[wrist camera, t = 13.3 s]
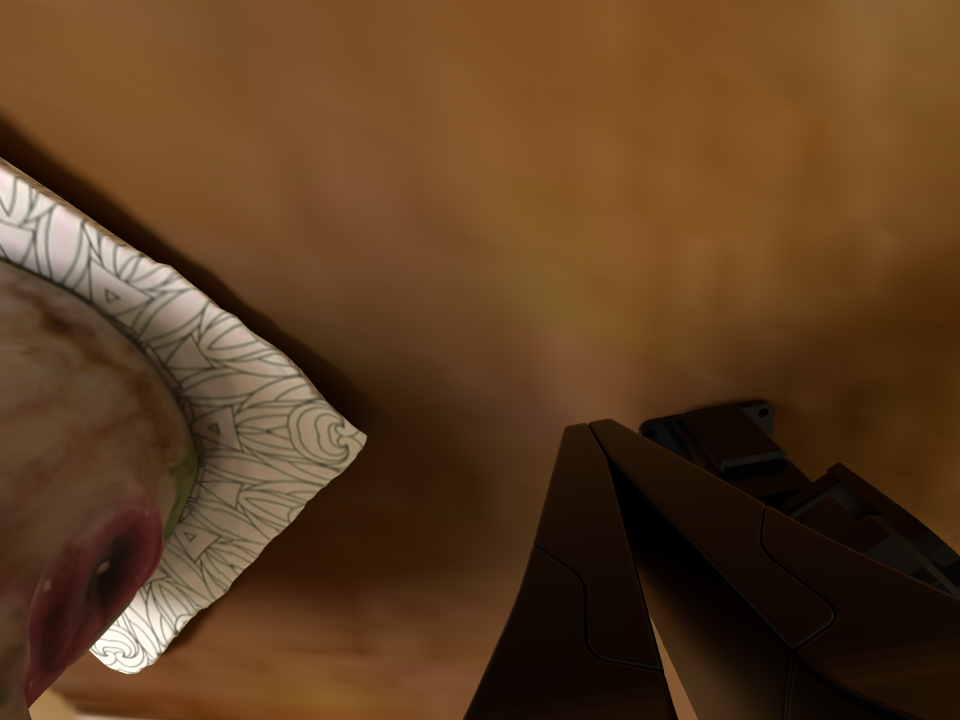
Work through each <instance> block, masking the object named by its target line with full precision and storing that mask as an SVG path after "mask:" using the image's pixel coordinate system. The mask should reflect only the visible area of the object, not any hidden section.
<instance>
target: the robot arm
mask: <svg viewBox="0 0 960 720" xmlns="http://www.w3.org/2000/svg"><path fill="white" fill-rule="evenodd" d="M763 408H764V409H763ZM761 409H763V411H762V412H760V413H758V412H759V411H760V410H761ZM773 413H774V410H773V407H772V406H771V405H770V404H769V403H768V402H767V401H764V400H757V401H752V402H746V403H741V404H736V405H735V404H731V405H725V406H720V407H715V408H709V409H704V410H699V411H693V412H688V413H685V414H682V415H677V416H671V417H666V418H661V419H655V420H650V421H646V422H644V423H643V424H641V426H640V427H639V434H638V433H636V432H634V431H632V430H630V429H629V428H627V427H625V426H623V425H621V424H620V423H618V422H616V421H614V420H612V419H602V420H597V421H592V422H590V423H589V425H587V424H586V423H581V424H576V425H571V426H567V427H565V429H564V433H563V436H562V440H561V444H560V447H559V451H558V455H557V458H556V462H555V466H554V469H553V473H552V477H551V480H550V484H549V488H548V492H547V495H546V499H545V503H544V506H543V510H542V514H541V517H540V521H539V525H538V528H537V532H536V536H535V540H534V543H533V548H532V550H531V553H530V557H529V561H528V564H527V568H526V571H525V574H524V577H523V580H522V583H521V587H520V590H519V593H518V595H517V598H516V600H515V603H514V605H513V608H512V610H511V613H510V615H509V618H508V620H507V623H506V625H505V627H504V629H503V632H502V634H501V636H500V638H499V640H498V643H497V645H496V647H495V649H494V652H493V654H492V656H491V658H490V661H489V663H488V665H487V667H486V670H485V672H484V674H483V676H482V679H481V681H480V683H479V685H478V688H477V690H476V692H475V694H474V697H473V699H472V701H471V703H470V705H469V707H468V709H467V712H466V714H465V716H464V718H463V720H678V717H677V714H676V711H675V708H674V705H673V702H672V698H671V695H670V691H669V688H668V684H667V680H666V678H665V676H664V669H663V665H662V661H661V658H660V654H659V650H658V646H657V643H656V639H655V635H654V631H653V628H652V624H651V620H650V616H651V618H652V620H653V622H654V624H655V627H656V629H657V631H658V633H659V635H660V637H661V640H662V642H663V644H664V646H665V648H666V651H667V653H668V655H669V657H670V659H671V661H672V664H673V666H674V668H675V670H676V672H677V674H678V677H679V679H680V681H681V683H682V685H683V687H684V690H685V692H686V694H687V696H688V698H689V701H690V703H691V705H692V707H693V709H694V711H695V714H696V716H697V718H698V720H960V556H959V555H958V554H957V553H956V552H955V551H954V550H953V549H952V548H950V547H949V546H948V545H947V544H946V543H945V542H944V541H943V540H941V539H940V538H939V537H938V536H937V535H936V534H935V533H933V532H932V531H931V530H930V529H929V528H927V527H926V526H925V525H924V524H923V523H921V522H920V521H919V520H918V519H916V518H915V517H914V516H913V515H911V514H910V513H909V512H907V511H906V510H905V509H903V508H902V507H900V506H899V505H898V504H896V503H895V502H894V501H892V500H891V499H889V498H888V497H887V496H885V495H884V494H882V493H881V492H880V491H878V490H877V489H876V488H874V487H873V486H871V485H870V484H869V483H867V482H866V481H865V480H863V479H862V478H860V477H859V476H858V475H856V474H855V473H853V472H852V471H851V470H849V469H848V468H847V467H845V466H844V465H842V464H841V463H840V462H838V463H836V464H835V465H833V466H832V467H830V468H829V469H827V472H828V473H826V474H825V475H823V476H822V477H820V478H819V479H817V480H815V481H814V482H812V481H811V480H810V479H809V478H808V477H807V476H806V475H805V474H804V473H803V472H802V471H801V470H800V469H799V468H798V467H797V466H796V465H795V464H794V463H793V462H792V461H790V460H789V459H788V458H787V453H786V451H785V450H784V449H783V448H781V447H780V446H779V445H778V444H777V443H776V442H775V441H774V440H773V439H772V428H773ZM650 429H653V431H652V432H651V433H647V432H648V430H650ZM648 611H649V612H648ZM649 614H650V616H649Z"/></svg>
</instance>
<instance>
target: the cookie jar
mask: <svg viewBox="0 0 960 720" xmlns="http://www.w3.org/2000/svg"><path fill="white" fill-rule="evenodd" d="M366 439H367V435H365V434H364V433H362V432H361V431H359V430H358V429H356V428H355V427H354V426H352V425H351V424H350V423H349V422H348V421H347V420H346V419H345V418H344V417H343V416H342V415H341V414H340V413H339V412H338V411H336V410H335V409H334V408H333V407H332V406H331V405H329V404H328V402H327V401H326V400H325V399H324V397H323V396H322V395H321V394H320V392H319V391H318V390H317V389H316V387H315V386H314V385H313V384H312V382H311V381H310V380H309V379H308V378H307V376H306V375H305V374H304V373H303V371H302V370H301V369H300V368H299V367H298V366H297V365H296V364H295V363H294V362H293V361H292V360H291V359H289V358H288V357H287V356H286V355H285V354H284V353H283V352H281V351H280V350H279V349H277V348H276V347H275V346H273V345H272V344H270V343H269V342H267V341H265V340H264V339H262V338H261V337H259V336H258V335H256V334H255V333H253V332H252V331H250V330H249V329H248V328H247V327H246V326H245V325H244V324H243V323H242V322H241V321H240V320H239V319H238V318H237V317H236V316H235V315H233V314H231V313H229V312H226V311H224V310H222V309H221V308H220V307H219V306H218V305H217V304H216V303H215V302H214V301H213V300H212V299H211V298H209V297H208V296H207V295H206V294H204V293H203V292H202V291H200V290H199V289H198V288H196V287H195V286H194V285H192V284H191V283H190V282H188V281H187V280H186V279H185V278H184V277H183V276H182V275H180V274H179V273H178V272H177V271H176V270H175V269H174V268H172V267H171V266H170V265H166V264H161V263H157V262H155V261H154V260H152V259H151V258H150V257H148V256H147V255H146V254H144V253H142V252H140V251H138V250H136V249H135V248H133V247H132V246H130V245H129V244H127V243H126V242H124V241H123V240H121V239H120V238H119V237H117V236H116V235H114V234H113V233H111V232H110V231H108V230H107V229H106V228H104V227H103V226H101V225H100V224H98V223H97V222H95V221H94V220H93V219H91V218H90V217H88V216H87V215H85V214H84V213H83V212H81V211H80V210H78V209H77V208H75V207H74V206H72V205H71V204H70V203H68V202H67V201H65V200H64V199H62V198H61V197H60V196H58V195H57V194H55V193H54V192H52V191H51V190H49V189H48V188H46V187H45V186H43V185H42V184H40V183H39V182H37V181H36V180H34V179H33V178H31V177H30V176H28V175H27V174H25V173H24V172H22V171H21V170H19V169H17V168H16V167H14V166H13V165H11V164H10V163H8V162H7V161H5V160H4V159H2V158H1V157H0V720H31V717H30V714H29V710H28V709H29V708H30V706H31V705H32V704H33V703H34V702H35V701H36V700H37V699H38V698H39V696H41V694H42V693H43V692H44V691H45V690H46V689H47V688H48V687H49V686H50V685H51V684H52V683H53V682H55V681H56V680H57V678H58V677H59V676H60V675H61V674H62V673H63V672H64V671H65V669H66V668H67V667H69V666H70V665H72V664H73V663H75V662H76V661H77V660H78V659H80V658H81V657H82V656H83V655H85V654H86V653H87V652H88V650H90V651H91V652H92V653H93V654H94V655H95V656H96V657H97V658H99V659H100V660H101V661H102V662H103V663H104V664H105V665H106V666H108V667H110V668H113V669H115V670H118V671H121V672H124V673H126V674H135V673H138V672H140V671H141V670H142V669H143V668H144V667H145V666H148V665H152V664H153V663H154V662H156V661H157V660H158V659H159V657H160V655H161V654H162V653H163V652H164V651H165V650H166V648H167V647H168V645H169V643H170V642H171V641H172V640H173V638H174V637H177V636H178V635H179V632H180V631H181V630H182V628H183V627H184V626H185V625H186V624H187V623H188V621H189V620H190V619H191V618H192V617H194V616H195V615H196V614H197V613H198V611H199V610H201V609H204V608H207V607H208V606H209V605H210V604H211V603H213V602H214V601H215V600H217V599H218V598H220V597H221V596H222V595H223V594H225V593H226V592H227V591H228V590H229V588H230V586H231V584H232V583H233V581H234V580H235V579H236V578H237V577H238V576H239V575H240V574H241V572H242V571H243V570H244V569H245V568H246V567H248V566H249V565H250V564H252V563H253V562H254V561H255V559H256V558H257V557H258V556H259V555H260V554H261V552H262V550H263V549H264V547H265V546H266V545H267V544H268V543H269V542H270V541H271V540H272V539H273V538H274V537H275V536H277V535H279V534H280V533H281V532H282V531H283V530H284V529H285V528H286V527H287V526H288V525H289V524H290V523H291V522H293V520H294V519H295V518H296V517H297V515H298V514H299V513H300V512H301V511H302V509H303V508H304V506H305V504H306V503H307V501H309V500H310V499H311V498H313V497H314V496H315V495H316V493H317V492H318V491H319V490H320V489H321V488H324V487H326V486H327V484H328V483H329V482H330V481H331V480H332V479H333V478H335V477H337V476H338V475H340V474H342V472H343V471H344V470H345V469H346V468H347V467H348V466H349V465H350V464H351V462H352V461H353V460H354V459H355V458H356V456H357V454H358V452H359V451H360V450H362V449H363V447H364V444H365V442H366Z"/></svg>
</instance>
